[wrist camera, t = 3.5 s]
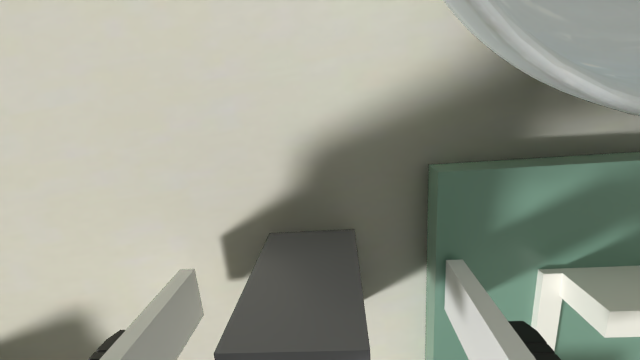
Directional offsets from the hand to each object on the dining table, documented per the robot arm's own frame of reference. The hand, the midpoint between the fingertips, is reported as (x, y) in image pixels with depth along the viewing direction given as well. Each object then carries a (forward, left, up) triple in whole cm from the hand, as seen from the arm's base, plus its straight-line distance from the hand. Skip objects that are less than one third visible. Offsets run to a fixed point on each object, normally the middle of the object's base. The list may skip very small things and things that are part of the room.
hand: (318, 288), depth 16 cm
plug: (0, 0, -2) cm, 2 cm away
